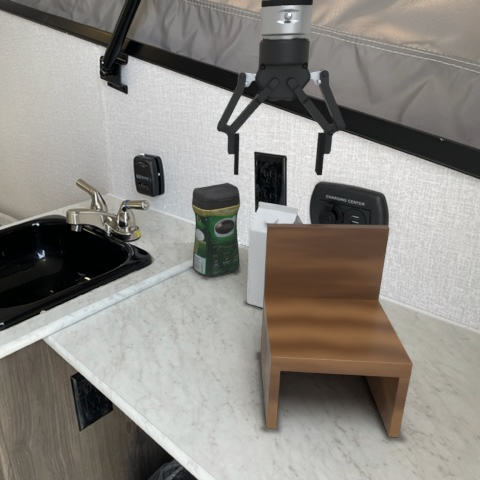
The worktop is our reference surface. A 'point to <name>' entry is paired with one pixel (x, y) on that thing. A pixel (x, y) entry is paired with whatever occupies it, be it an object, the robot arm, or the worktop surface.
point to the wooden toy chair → (330, 313)
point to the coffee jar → (216, 229)
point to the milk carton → (264, 245)
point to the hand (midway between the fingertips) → (276, 173)
